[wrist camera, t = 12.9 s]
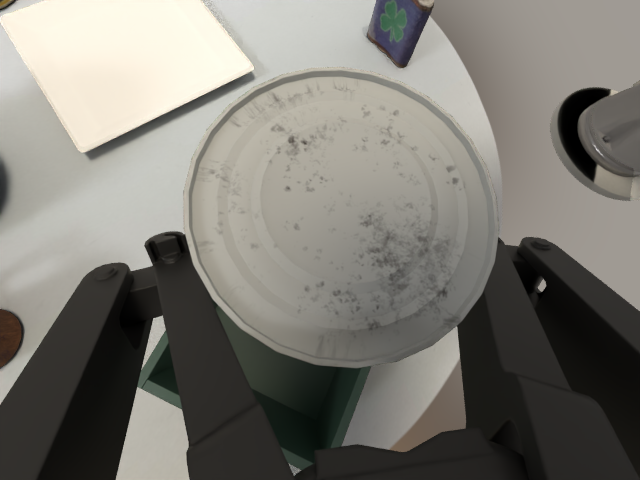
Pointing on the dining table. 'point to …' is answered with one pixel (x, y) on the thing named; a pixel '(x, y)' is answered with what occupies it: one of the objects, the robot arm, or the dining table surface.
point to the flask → (398, 27)
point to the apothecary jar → (5, 3)
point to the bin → (277, 392)
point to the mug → (8, 336)
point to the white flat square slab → (122, 60)
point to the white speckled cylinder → (340, 217)
